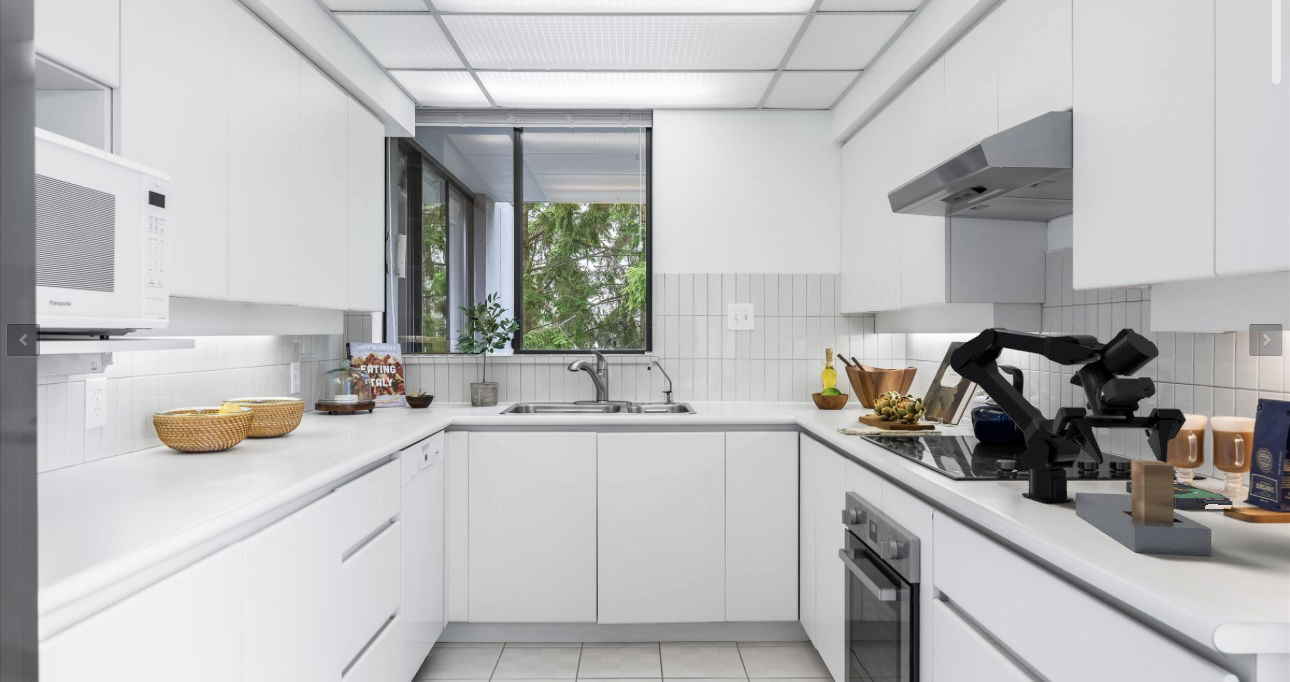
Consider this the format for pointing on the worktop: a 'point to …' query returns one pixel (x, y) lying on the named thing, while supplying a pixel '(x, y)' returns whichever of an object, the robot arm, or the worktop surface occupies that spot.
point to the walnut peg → (1152, 491)
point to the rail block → (1142, 526)
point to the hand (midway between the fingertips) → (1132, 463)
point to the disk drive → (1191, 497)
